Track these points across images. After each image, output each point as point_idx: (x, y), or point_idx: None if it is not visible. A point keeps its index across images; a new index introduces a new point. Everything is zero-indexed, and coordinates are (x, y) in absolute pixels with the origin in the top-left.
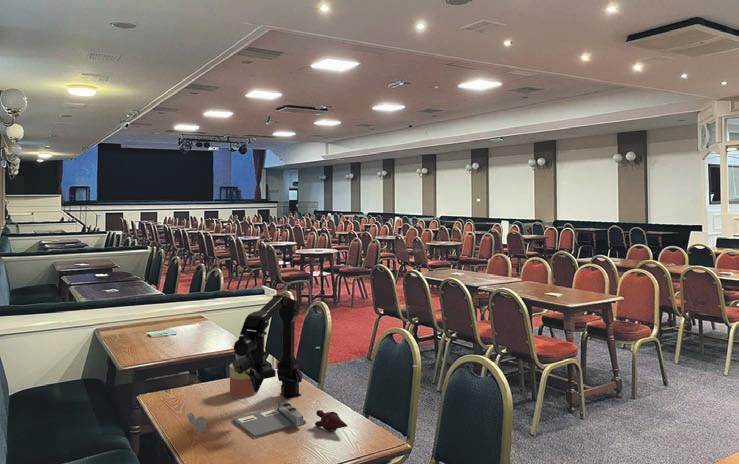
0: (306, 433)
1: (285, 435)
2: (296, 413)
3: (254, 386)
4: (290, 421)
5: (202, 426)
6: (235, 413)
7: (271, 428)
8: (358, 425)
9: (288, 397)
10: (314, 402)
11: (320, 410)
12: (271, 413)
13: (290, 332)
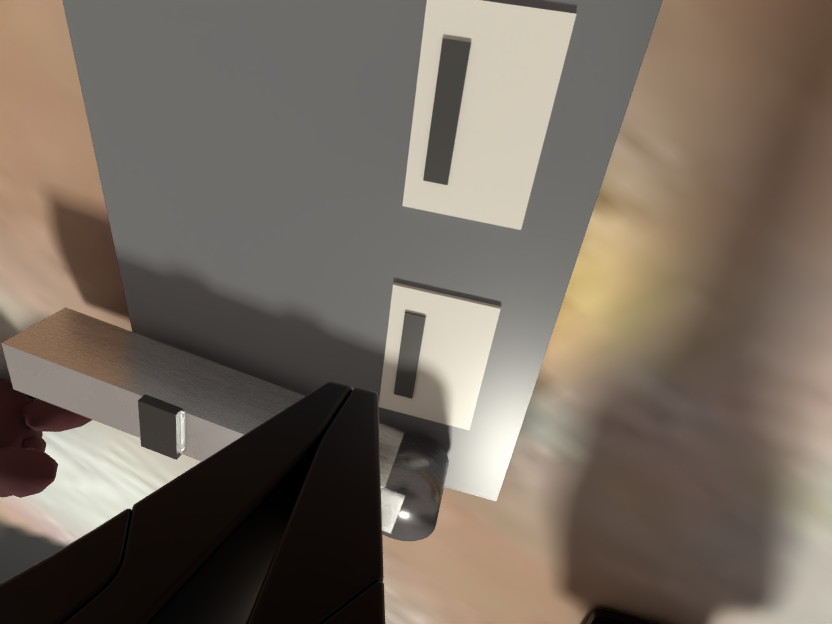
0: (21, 293)
1: (37, 175)
2: (73, 391)
3: (244, 461)
4: (189, 343)
5: None
6: (822, 177)
7: (132, 151)
8: (29, 498)
9: (597, 621)
10: (412, 616)
11: (11, 492)
12: (405, 360)
13: None
